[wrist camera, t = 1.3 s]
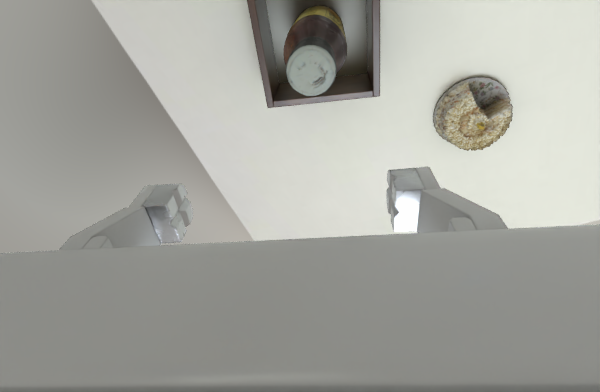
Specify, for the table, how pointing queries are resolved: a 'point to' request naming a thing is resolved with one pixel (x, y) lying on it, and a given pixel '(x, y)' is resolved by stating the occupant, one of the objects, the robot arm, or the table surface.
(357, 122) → the table surface
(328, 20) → the sauce bottle
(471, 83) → the cake
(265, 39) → the caddy
